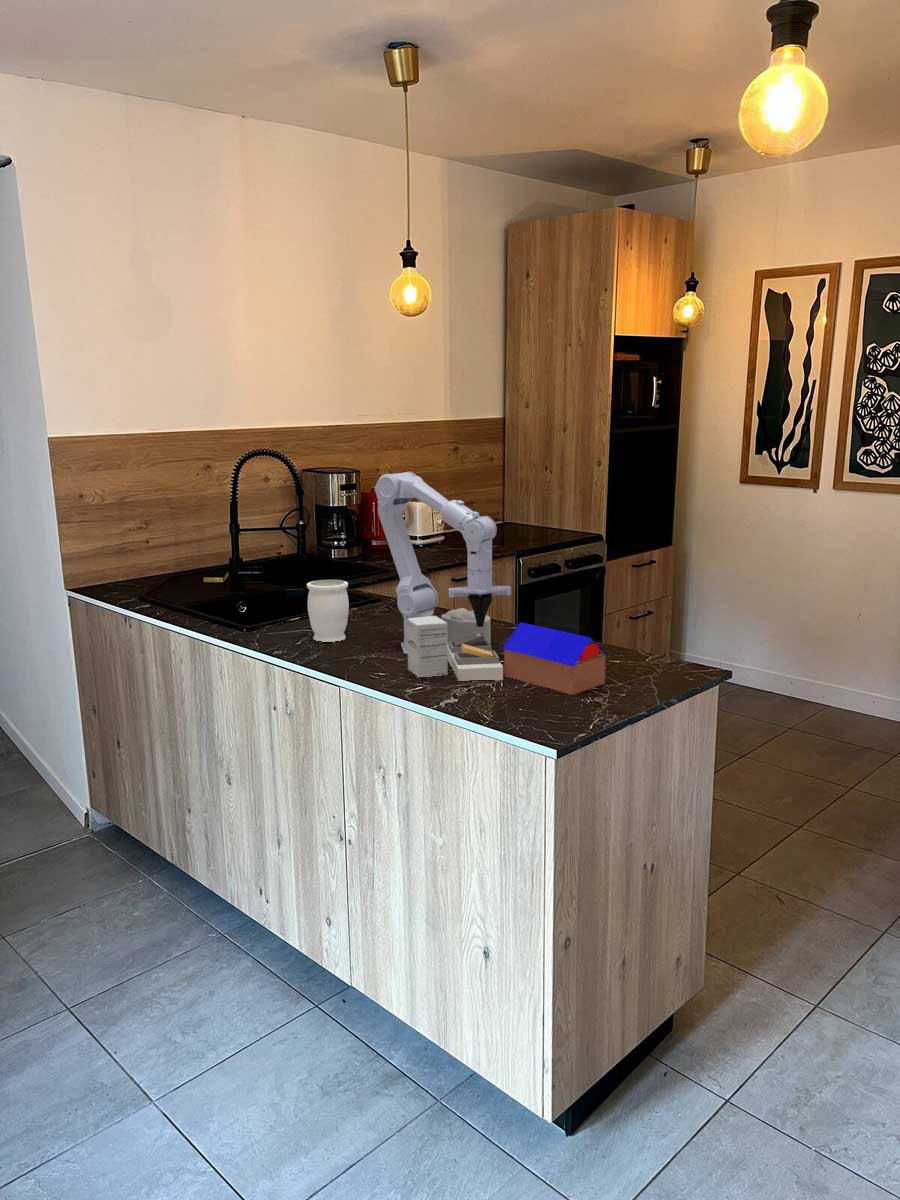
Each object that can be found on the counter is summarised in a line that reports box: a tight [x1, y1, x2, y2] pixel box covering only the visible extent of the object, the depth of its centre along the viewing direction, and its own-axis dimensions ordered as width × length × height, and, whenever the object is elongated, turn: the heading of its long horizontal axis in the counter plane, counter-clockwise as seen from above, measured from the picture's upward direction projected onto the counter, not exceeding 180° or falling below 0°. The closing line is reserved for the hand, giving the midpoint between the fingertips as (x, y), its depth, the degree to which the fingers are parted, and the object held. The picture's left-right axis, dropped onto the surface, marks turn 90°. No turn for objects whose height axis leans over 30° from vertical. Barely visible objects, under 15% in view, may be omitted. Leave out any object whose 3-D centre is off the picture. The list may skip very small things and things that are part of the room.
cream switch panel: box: [447, 640, 504, 682], centre depth 213 cm, size 22×10×4 cm, turn 8°
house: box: [502, 622, 608, 696], centre depth 203 cm, size 12×20×12 cm, turn 45°
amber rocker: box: [461, 644, 493, 658], centre depth 208 cm, size 4×7×1 cm, turn 98°
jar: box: [306, 579, 350, 643], centre depth 238 cm, size 11×10×15 cm
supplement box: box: [407, 615, 449, 679], centre depth 208 cm, size 7×7×13 cm
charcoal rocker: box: [454, 632, 485, 647], centre depth 217 cm, size 4×7×1 cm, turn 98°
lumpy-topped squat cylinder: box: [440, 607, 492, 644], centre depth 234 cm, size 10×13×9 cm
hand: (479, 625), depth 217 cm, fingers closed
